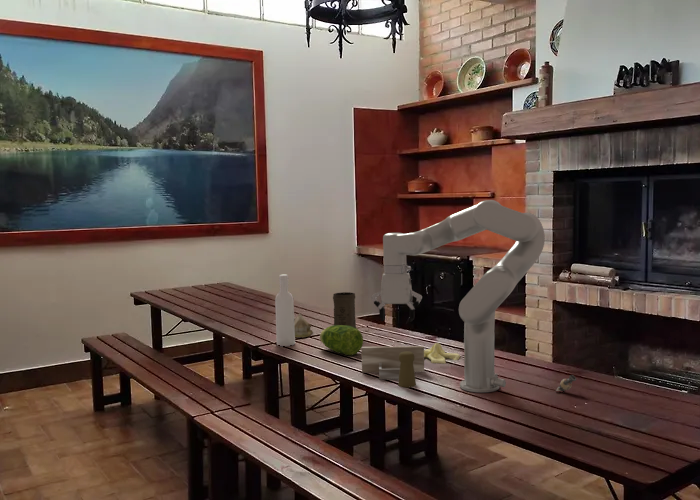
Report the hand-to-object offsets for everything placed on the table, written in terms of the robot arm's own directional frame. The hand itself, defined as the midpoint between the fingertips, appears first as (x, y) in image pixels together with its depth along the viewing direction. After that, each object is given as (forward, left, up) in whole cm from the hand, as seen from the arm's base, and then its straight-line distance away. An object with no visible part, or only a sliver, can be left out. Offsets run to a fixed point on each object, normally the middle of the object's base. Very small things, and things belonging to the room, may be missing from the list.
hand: (397, 320), depth 217 cm
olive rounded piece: (-5, +2, -21) cm, 22 cm away
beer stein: (+59, -45, -21) cm, 77 cm away
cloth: (+6, -33, -21) cm, 40 cm away
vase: (-51, -18, -21) cm, 58 cm away
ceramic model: (+78, -36, -21) cm, 88 cm away
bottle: (+70, -18, -21) cm, 75 cm away
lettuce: (+42, -20, -21) cm, 51 cm away
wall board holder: (+5, -4, -21) cm, 22 cm away
